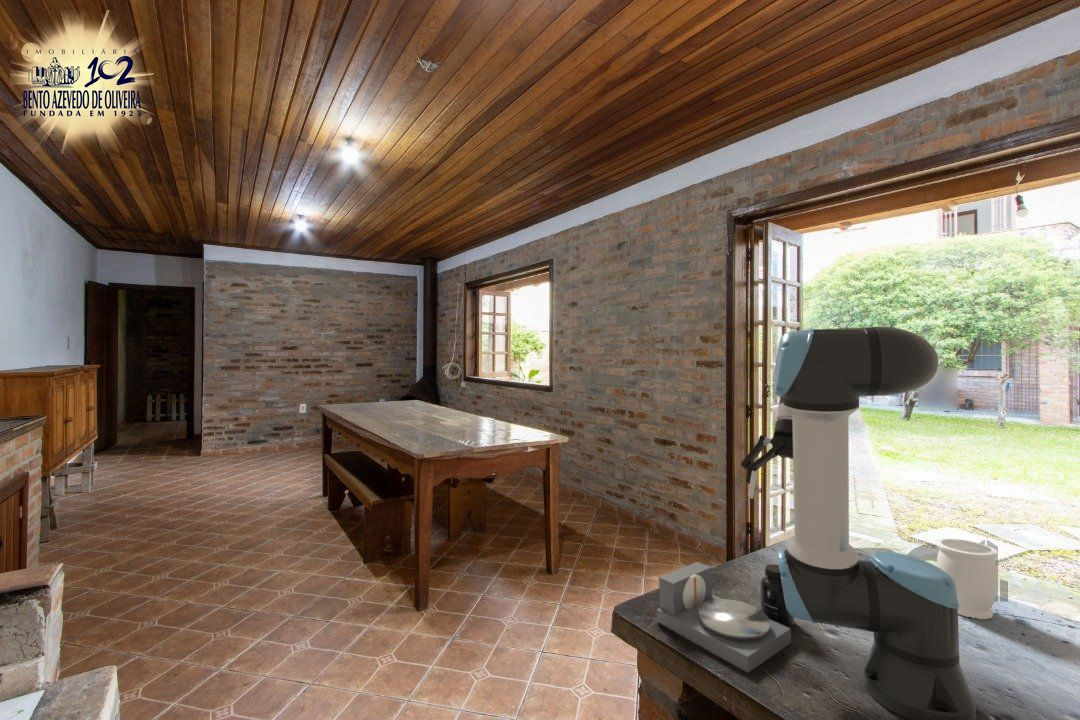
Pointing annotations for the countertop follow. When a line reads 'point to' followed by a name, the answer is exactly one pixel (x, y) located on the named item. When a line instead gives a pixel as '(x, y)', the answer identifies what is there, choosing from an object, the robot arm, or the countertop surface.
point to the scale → (681, 614)
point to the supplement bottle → (774, 597)
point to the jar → (970, 575)
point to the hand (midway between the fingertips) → (779, 503)
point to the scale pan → (734, 619)
